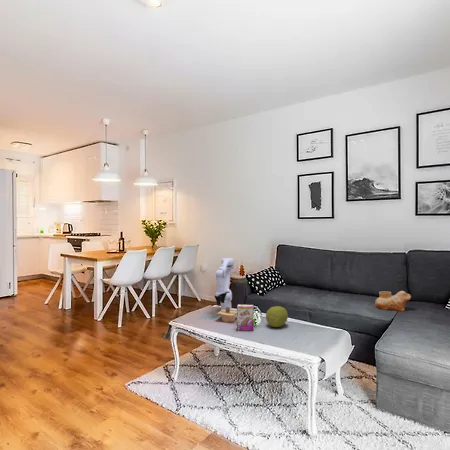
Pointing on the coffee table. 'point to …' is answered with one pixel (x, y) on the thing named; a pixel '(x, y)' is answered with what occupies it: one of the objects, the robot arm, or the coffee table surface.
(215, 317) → the grey flat square slab
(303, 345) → the coffee table surface
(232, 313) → the oak lid
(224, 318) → the terracotta bowl
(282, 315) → the fruit
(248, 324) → the candy bar box
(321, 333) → the coffee table surface
